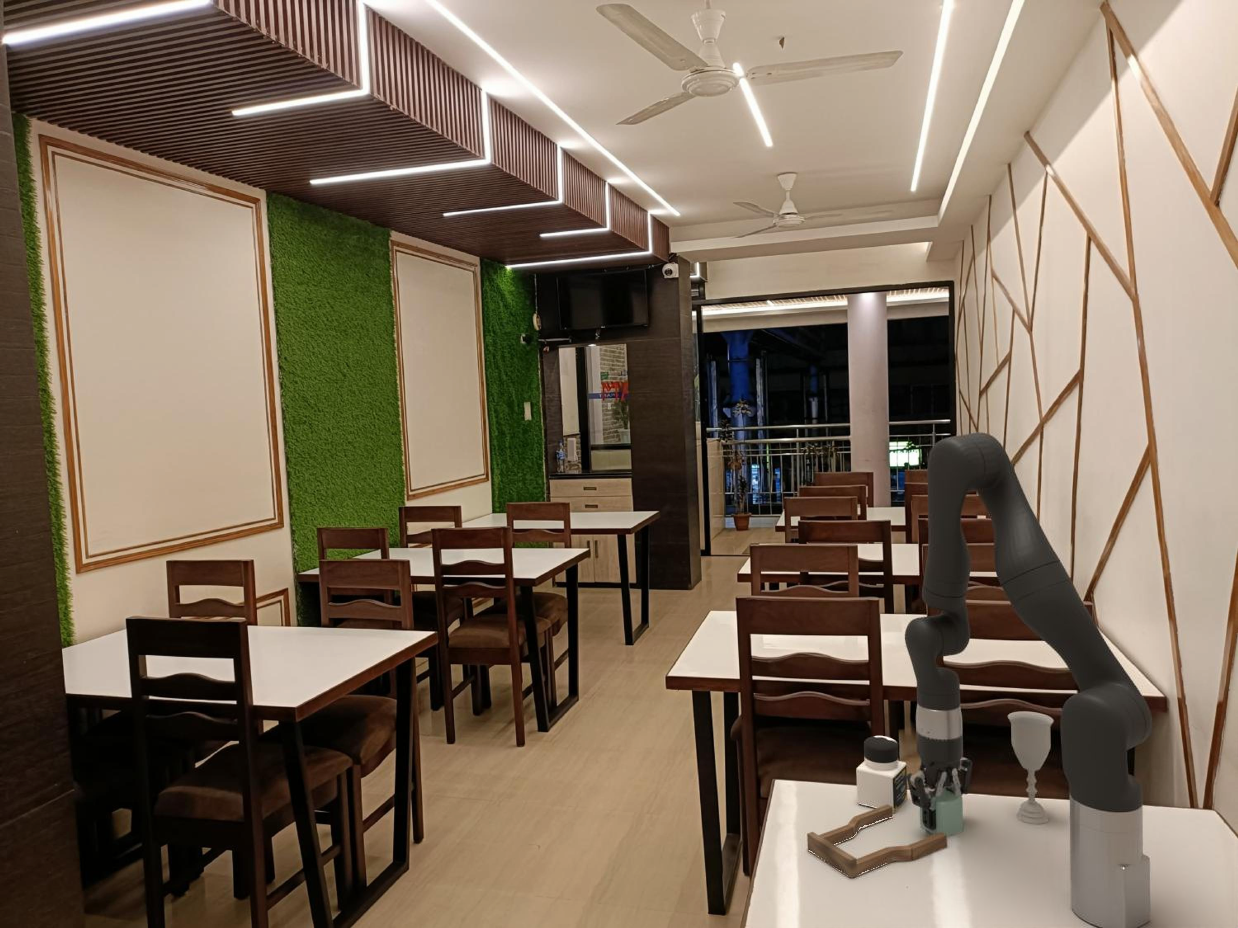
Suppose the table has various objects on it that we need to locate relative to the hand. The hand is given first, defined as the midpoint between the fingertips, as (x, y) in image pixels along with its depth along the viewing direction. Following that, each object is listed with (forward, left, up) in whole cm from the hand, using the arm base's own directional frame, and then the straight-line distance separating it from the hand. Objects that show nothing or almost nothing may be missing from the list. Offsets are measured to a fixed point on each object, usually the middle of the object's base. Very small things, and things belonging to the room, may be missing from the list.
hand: (941, 822), depth 154 cm
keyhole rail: (+2, +14, -1) cm, 14 cm away
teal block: (0, 0, -1) cm, 1 cm away
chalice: (-6, -16, -1) cm, 17 cm away
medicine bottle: (+13, +1, -1) cm, 13 cm away
